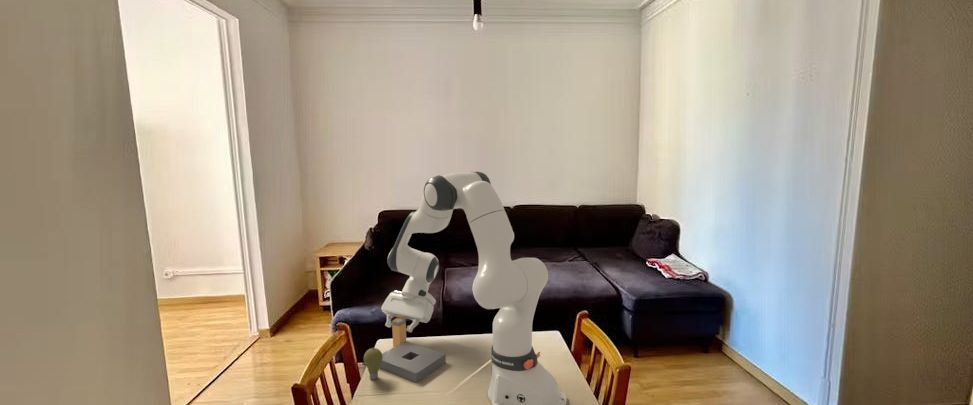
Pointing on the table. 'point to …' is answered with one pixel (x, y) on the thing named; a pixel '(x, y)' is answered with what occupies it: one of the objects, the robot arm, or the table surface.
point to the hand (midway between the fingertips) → (397, 328)
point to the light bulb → (373, 361)
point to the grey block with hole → (411, 361)
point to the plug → (399, 331)
